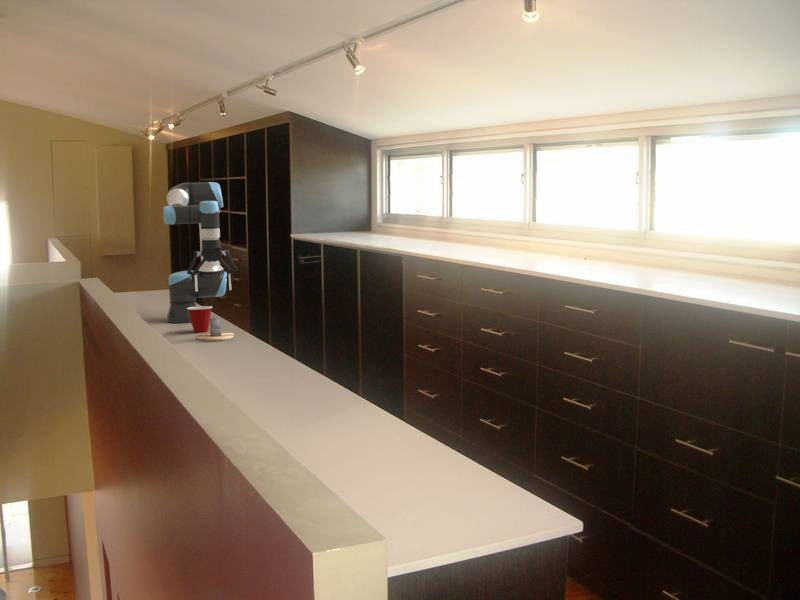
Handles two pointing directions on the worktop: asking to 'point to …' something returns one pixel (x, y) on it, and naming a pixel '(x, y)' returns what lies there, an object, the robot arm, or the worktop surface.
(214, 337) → the lid
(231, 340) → the mat
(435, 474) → the worktop surface
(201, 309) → the plastic cup
